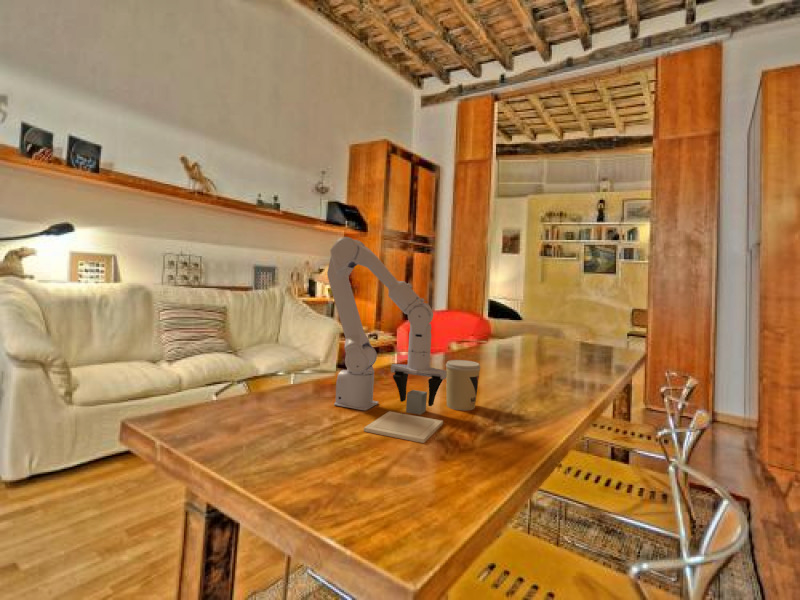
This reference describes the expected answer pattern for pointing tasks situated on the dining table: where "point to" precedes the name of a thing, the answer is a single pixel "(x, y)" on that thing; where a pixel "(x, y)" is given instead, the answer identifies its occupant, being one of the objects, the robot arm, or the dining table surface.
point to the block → (416, 402)
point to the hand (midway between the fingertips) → (416, 402)
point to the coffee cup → (461, 384)
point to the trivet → (404, 426)
